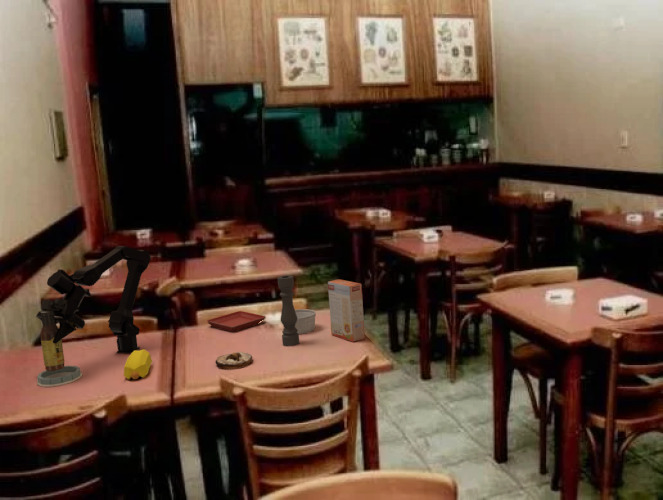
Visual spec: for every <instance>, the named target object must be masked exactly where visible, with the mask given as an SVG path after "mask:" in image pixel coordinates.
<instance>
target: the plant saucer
mask: <svg viewBox="0 0 663 500" xmlns="http://www.w3.org/2000/svg"><path fill="white" fill-rule="evenodd" d="M266 318H267V316H266V315H261V314H258V313H252V312H247V311H243V310H237V311H234V312H231V313H227V314H224V315H220V316H217V317H213V318H210V319H207V320H206V322H207V323H208V324H209V325H210V326H211V327H213V328H216V329H220V330H224V331H227V332H232V333H235V332H238V331H240V330H241V331H242V330H244V329H248V328H251V327H255V326H257V325H259V324H258V323H259V322H260V321H262V320H263V321H264V320H265V319H266Z"/></svg>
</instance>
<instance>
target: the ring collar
mask: <svg viewBox="0 0 663 500" xmlns="http://www.w3.org/2000/svg"><path fill="white" fill-rule="evenodd" d="M82 376H83V373H82V371H81V367H80V366H77V365H64V367H63V368H62V369H59V370H56V371H47V370H46V369H45V370H43V371H41V372H39V373H38V374H37V376H36V378H37V380H36V384H37V386H39V387H42V388H51V387H52V388H53V387H60V386H64V385H69V384H72V383H74V382H76V381H78V380H80V379H81V378H82Z"/></svg>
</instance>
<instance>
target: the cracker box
mask: <svg viewBox="0 0 663 500" xmlns="http://www.w3.org/2000/svg"><path fill="white" fill-rule="evenodd" d="M327 287H328V288H327V289H328V290H327V291H328V303H329V316H330V317H329V319H330V331H331V333H330V334H331V336H335V337H337V338H340V339H343V340H345V341H350V342H352V343H354V342H357V341H362V340H365V337H366V335H365V320H364V318H365V317H364V307H363V306H364V305H363V288H362V287H363V286H362V283H360V282H354V281H349V280H344V279H334V280H329V281H327Z"/></svg>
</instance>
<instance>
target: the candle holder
mask: <svg viewBox="0 0 663 500" xmlns="http://www.w3.org/2000/svg"><path fill="white" fill-rule="evenodd" d="M294 285H295V282H294V275H291V274H290V275H281V276H278V277H277V286H278V289H279V291H280V293H279V297H281V303H282V306H281V314H280V322H281V324H282V326H283V330H282V332H281V333H282V334H281V340H282V341H281V343H282V346H284V347H295V346H298V345H299V344H300V334H298V333H297V332H298V330H297V329H296V327H295V326H296V325H295V324H296V322H297V315H296V312H295V310H296V309H295V307H294V301H293V296H294V295H295V292H294V291H293V289H294Z"/></svg>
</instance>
